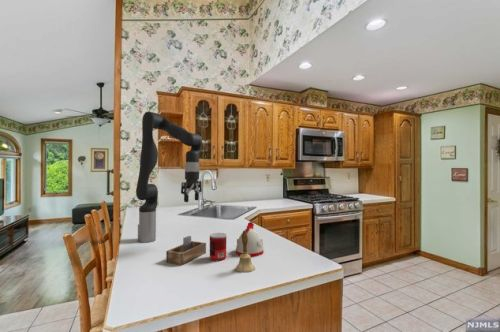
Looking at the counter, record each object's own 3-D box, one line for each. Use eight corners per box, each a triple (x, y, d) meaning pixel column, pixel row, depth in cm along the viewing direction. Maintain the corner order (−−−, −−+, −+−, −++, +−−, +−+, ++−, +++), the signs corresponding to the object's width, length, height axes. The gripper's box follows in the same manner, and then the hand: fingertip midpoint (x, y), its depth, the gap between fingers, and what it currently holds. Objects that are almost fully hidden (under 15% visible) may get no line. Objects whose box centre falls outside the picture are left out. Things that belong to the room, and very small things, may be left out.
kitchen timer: (267, 250, 131) (267, 221, 131) (256, 258, 118) (256, 226, 118) (243, 246, 137) (243, 219, 137) (230, 254, 124) (230, 224, 124)
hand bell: (248, 274, 101) (248, 233, 101) (231, 269, 105) (231, 231, 105) (258, 267, 108) (258, 229, 108) (242, 263, 112) (242, 227, 112)
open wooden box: (166, 262, 114) (166, 251, 114) (191, 250, 130) (191, 240, 130) (182, 265, 110) (182, 253, 110) (205, 253, 126) (205, 242, 126)
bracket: (180, 256, 119) (180, 237, 119) (185, 254, 123) (185, 235, 123) (188, 258, 117) (188, 238, 117) (194, 255, 121) (194, 236, 121)
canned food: (229, 256, 121) (228, 233, 121) (221, 262, 114) (221, 237, 114) (214, 254, 124) (214, 232, 124) (206, 260, 116) (206, 236, 116)
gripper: (194, 170, 143) (194, 199, 143) (177, 170, 130) (176, 202, 130) (205, 170, 140) (205, 200, 140) (189, 171, 127) (188, 203, 127)
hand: (191, 201), depth 135 cm, fingers open, 8 cm apart
